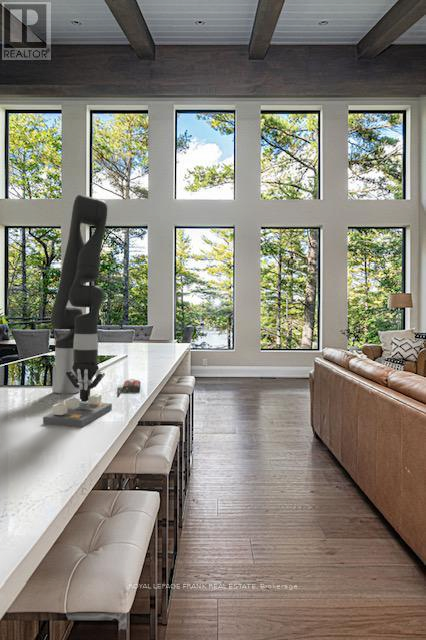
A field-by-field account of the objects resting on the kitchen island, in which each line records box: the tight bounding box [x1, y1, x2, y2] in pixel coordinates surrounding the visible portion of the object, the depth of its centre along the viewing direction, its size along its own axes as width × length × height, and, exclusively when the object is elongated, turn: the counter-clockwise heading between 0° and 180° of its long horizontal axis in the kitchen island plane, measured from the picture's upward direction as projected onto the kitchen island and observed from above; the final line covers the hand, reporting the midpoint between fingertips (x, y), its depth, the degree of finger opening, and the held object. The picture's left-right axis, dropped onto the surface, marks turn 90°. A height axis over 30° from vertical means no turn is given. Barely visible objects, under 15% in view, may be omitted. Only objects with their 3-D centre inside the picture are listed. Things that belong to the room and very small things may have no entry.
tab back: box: [87, 393, 102, 405], centre depth 135 cm, size 3×3×3 cm
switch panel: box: [42, 400, 113, 428], centre depth 129 cm, size 12×20×2 cm, turn 170°
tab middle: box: [64, 396, 80, 409], centre depth 129 cm, size 3×3×3 cm
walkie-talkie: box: [116, 378, 141, 396], centre depth 167 cm, size 9×4×20 cm
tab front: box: [51, 402, 68, 415], centre depth 122 cm, size 3×3×3 cm
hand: (85, 400), depth 136 cm, fingers closed
